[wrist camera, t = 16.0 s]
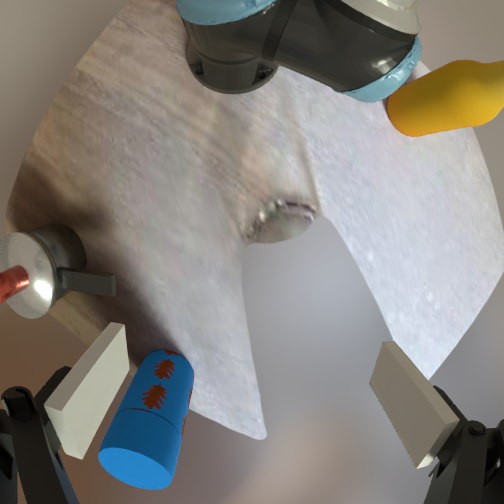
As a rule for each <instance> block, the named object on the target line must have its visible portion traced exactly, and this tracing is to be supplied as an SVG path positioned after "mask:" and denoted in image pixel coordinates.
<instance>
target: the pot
mask: <svg viewBox="0 0 504 504" xmlns="http://www.w3.org/2000/svg"><path fill="white" fill-rule="evenodd" d="M24 232H27V231H24ZM28 233H30V234H32V235H33V236H35V237H36V238H37V239H38V240H39V241H40V242H41V243H42V244H43V245H44V247H45V248H46V250H47V251H48V253H49V255H50V257H51V260H52V262H53V265H54V268H55V272H56V277H57V295H56V299H55V302H56V301H58V300H59V299H60V298H62V297H63V296H65V295H66V294H67V293H69V292H70V291H78V292H84V293H90V294H96V295H102V296H109V297H113V296H114V295H115V294H116V293H117V292H116V274H115V273H107V272H99V271H91V270H86V266H87V260H86V254H85V250H84V247H83V244H82V242H81V240H80V239H79V237H78V236H77V235H76V233H75V232H74V231H73V230H72V229H70V228H69V227H67V226H65V225H62V224H51V225H48V226H44V227H41V228H38V229H34V230H31V231H28ZM55 302H54V304H55ZM54 304H53V305H54ZM52 307H53V306H52Z"/></svg>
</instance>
